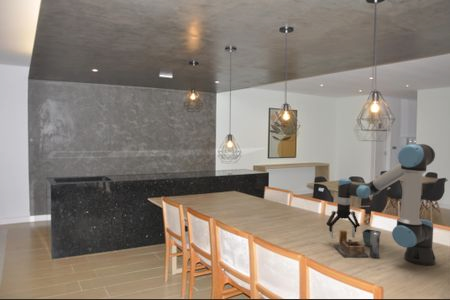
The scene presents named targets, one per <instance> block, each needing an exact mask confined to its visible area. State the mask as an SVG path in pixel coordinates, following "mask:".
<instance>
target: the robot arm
mask: <svg viewBox="0 0 450 300" xmlns="http://www.w3.org/2000/svg"><path fill="white" fill-rule="evenodd" d="M435 158H436V152H435V149H434V148H433V147H431V146H430V145H428V144H425V143H421V144H420V143H417V144H415V143H412V144H411V143H410V144H407V145H404V146H402V147H401V148H400V149H399V151H398V153H397V160H398V162H399V163H397V164H396V165H395V166H393V167H392V168H390V169H388V170H386V171H385V172H384V173H382V174H380V175H379V176H377V177H375V178H374V179H372V181H370V182H368V183H362V184H361V183H359V184H358V183H352V180H351V179H349V178H340V179H339V180H338V186H337V208H336V209H337V210H332V211H331V214H330V216H329V218H328V220H327V222H326V226H328V231H329V232H330V235H329V236H330V237H331V238H334V225H335V224H336V223H337V222H338V221H339V220H340V219H341V220H342V219H344V220H346V219H347V220H348V222H350V223H351V225H352V227H351V237H352V238H353V239H354V238H355V233H357V228H358V227H360V223H359V221H358V218H357V216H356V212H355V211H354V210H352V211H351V197H357V198H360V199H367V198H369V197H370V196H376V195H378V194H380V193H381V191H382V190H384V189H386V188H388V187H389V186H391V185H393V184H394V183H396V182H398V181H399V180H401V179H402V178H403V182H402V191H401V192H402V194H401V204H400V205H401V208H400V216H399V217H398V218H397V220H396V226H394V228H393V229H392V230H391V231H392V232H391V235H392V239H393V241H395V243H396V244H397V245H398V246H400V247H402V248H406V250H405V251H404V255H403V257H404V260H406V261H407V262H409V263H412V264H416V265H421V266H433V265H435V264H436V263H437V261H436V257H435V253H434V249H433V244H434V242H433V241H434V223H433V221H431V220H428V219H423V218H420V211H421V209H420V208H421V198H422V186H423V185H422V184H423V175H424V174H425V173H426V172H427V166H429V165H430V164H432V163H433V162H434V161H435ZM350 216H352V218H351V217H350ZM352 219H353V220H352Z"/></svg>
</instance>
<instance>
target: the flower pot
mask: <svg viewBox="0 0 450 300" xmlns="http://www.w3.org/2000/svg"><path fill="white" fill-rule="evenodd" d="M371 231H376V232H380V235H381V233H382V232H381V231H379V230H374V229H367V228H366V229H364V230H363V231H362V239H363V242H364V244H365V246H368V247H370V232H371Z"/></svg>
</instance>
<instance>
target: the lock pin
mask: <svg viewBox="0 0 450 300" xmlns="http://www.w3.org/2000/svg"><path fill="white" fill-rule="evenodd" d="M347 236H348V231H347V230H345V229H343V230H342V229H341V230H338V245H341V241H342V239H344V240H345V241H348V240H347V238H348V237H347ZM348 246H353V245H352V244H348Z"/></svg>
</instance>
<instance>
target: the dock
mask: <svg viewBox="0 0 450 300" xmlns="http://www.w3.org/2000/svg"><path fill="white" fill-rule="evenodd" d="M348 244H352V245H353V246H348ZM332 247H333V248H334V249H335V250H336V251H337V252H338V253H339V254H340V255H341V257H343V258H350V259H351V258H352V259H353V258H355V259H358V258H359V259H360V258H363V259H365V258H366V259H368V258H369V257H370V254H367V253H366V251H365V250H366V246H365V245H363V244H362V243H360V242H359V241H353V240H352V239H350V238H349V239H348V240H347V241H345V240H344V239H342V241H341V245H340V244H333V245H332Z"/></svg>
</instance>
